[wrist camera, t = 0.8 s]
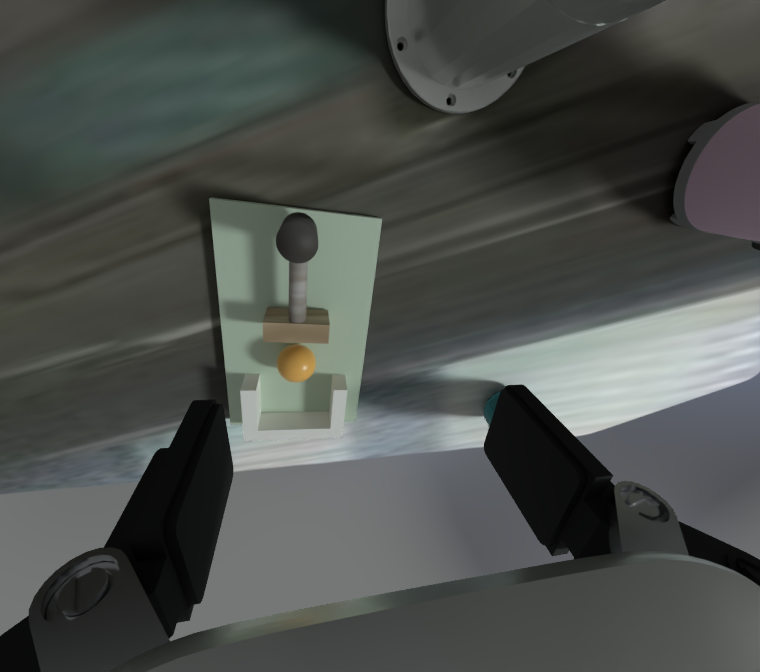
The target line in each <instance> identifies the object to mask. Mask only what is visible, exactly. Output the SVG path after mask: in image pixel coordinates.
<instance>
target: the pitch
mask: <svg viewBox="0 0 760 672" xmlns="http://www.w3.org/2000/svg"><path fill="white" fill-rule="evenodd" d="M209 203H210V214H211V224H212V235H213V245H214V256H215V266H216V277H217V287H218V298H219V308H220V319H221V329H222V340H223V350H224V361H225V371H226V382H227V392H228V403H229V413H230V424H231V425H237V424H243V422H242V409H241V395H240V390H241V386H242V383H243V380H244V377H245V374H260V393H261V413H267V412H320V411H329V408H330V395H331V383H332V375H345V378H346V384H347V399H346V408H345V417H344V422H351V421H356V415H357V407H358V399H359V392H360V384H361V377H362V369H363V361H364V354H365V346H366V338H367V331H368V323H369V315H370V308H371V300H372V292H373V285H374V277H375V270H376V262H377V254H378V247H379V239H380V231H381V224H382V219H381V218H380V217H372V216H364V215H355V214H347V213H339V212H330V211H322V210H314V209H305V208H297V207H289V206H280V205H272V204H264V203H255V202H247V201H239V200H230V199H222V198H214V197H212V198H209ZM295 212H301V213H305V214H307V215H308V216H310V217H311V218H312V219H313V220H314V222H315V224H316V226H317V233H318V250H317V253H316V254H315V256H314V257H313V258H312V259H311V260H309V261H308V277H307V305H306V309H316V310H328V314H329V323H330V329H329V343H328V344H319V343H284V342H263V319H264V316H265V313H266V310H267V307H277V308H289V261H288V260H286V259H285V258H284V257H282V255H281V254H280V253H279V251H278V249H277V246H276V236H277V233H278V231H279V229H280V227H281V225H282V223H283V221H284V219H285V218H286V217H287V216H288V215H289V214H291V213H295ZM294 344H300V345H304V346H306V347H308V348H309V349H310V350H311V351H312V352H313V354H314V356H315V359H316V368H315V370H314V372H313V374H312V375H311V376H310V377H309V378H308V379H307V380H305V381H302V382H298V383H294V382H290V381H287V380H285V379H284V378H283V377H282V376H281V375H280V374H279V372H278V369H277V358H278V356H279V354H280V352H281V351H282V350H283V349H284V348H286V347H288V346H290V345H294Z"/></svg>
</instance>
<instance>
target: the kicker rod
mask: <svg viewBox="0 0 760 672" xmlns="http://www.w3.org/2000/svg"><path fill="white" fill-rule="evenodd" d="M276 246H277V249H278V251H279V253H280V254H281V255H282V257H284V258H285V259H286V260H288V261H289V308H277V307H267V310H266V313H265V316H264V319H263V342H284V343H319V344H328V343H329V329H330V323H329V314H328V310H316V309H306V305H307V277H308V261H309V260H311V259H312V258H313V257H314V256H315V254H316V253H317V250H318V233H317V226H316V224H315V222H314V220H313V219H312V218H311V217H310V216H308V215H307V214H305V213H301V212H295V213H291V214H289V215H288V216H287V217H286V218H285V219H284V221H283V223H282V225H281V227H280V229H279V231H278V233H277V236H276Z"/></svg>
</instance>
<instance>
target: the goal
mask: <svg viewBox="0 0 760 672" xmlns="http://www.w3.org/2000/svg"><path fill="white" fill-rule="evenodd" d="M240 395H241V409H242V422H243V436H244V441H265V440H292V439H319V438H342V436H343V426H344V417H345V408H346V399H347V384H346V378H345V375H332V383H331V395H330V408H329V411H320V412H267V413H261V393H260V374H245V377H244V380H243V383H242V386H241V390H240Z"/></svg>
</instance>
